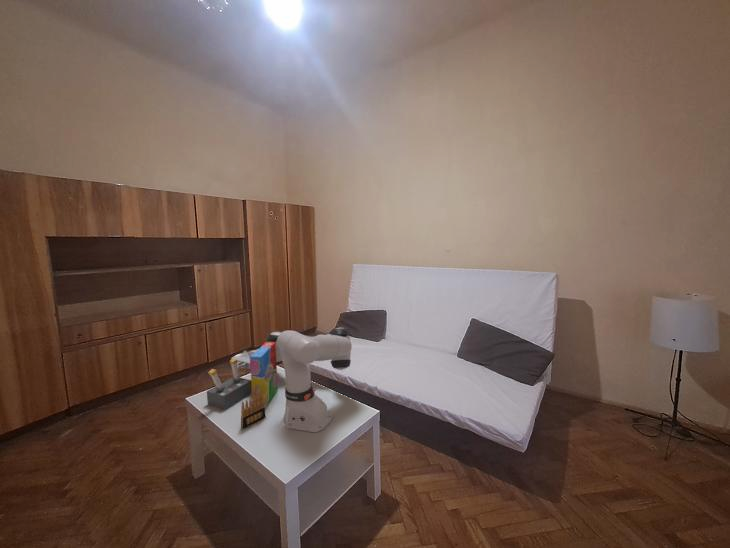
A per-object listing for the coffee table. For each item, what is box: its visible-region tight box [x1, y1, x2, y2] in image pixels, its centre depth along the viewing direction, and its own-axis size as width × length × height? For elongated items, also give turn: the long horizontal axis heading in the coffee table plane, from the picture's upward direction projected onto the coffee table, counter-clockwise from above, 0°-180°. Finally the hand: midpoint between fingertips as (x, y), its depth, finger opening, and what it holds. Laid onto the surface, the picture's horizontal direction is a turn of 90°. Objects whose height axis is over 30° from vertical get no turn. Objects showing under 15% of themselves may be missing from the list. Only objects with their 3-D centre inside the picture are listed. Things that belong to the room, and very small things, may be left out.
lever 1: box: [207, 368, 225, 391], centre depth 139 cm, size 3×2×12 cm
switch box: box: [206, 377, 252, 411], centre depth 146 cm, size 12×17×7 cm
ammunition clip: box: [240, 393, 267, 430], centre depth 126 cm, size 11×2×12 cm, turn 140°
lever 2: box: [229, 359, 242, 382], centre depth 149 cm, size 3×2×12 cm
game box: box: [250, 341, 279, 410], centre depth 143 cm, size 21×6×27 cm, turn 179°
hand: (235, 367), depth 149 cm, fingers closed, pressing on lever 2
